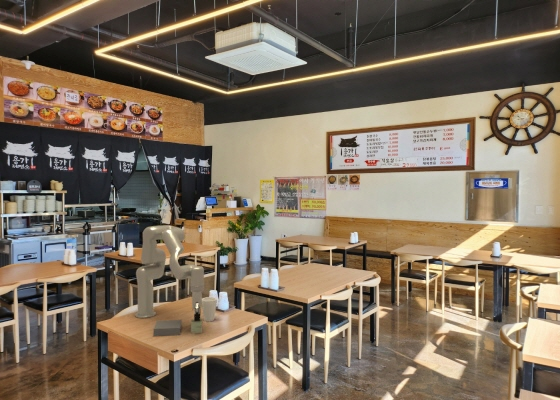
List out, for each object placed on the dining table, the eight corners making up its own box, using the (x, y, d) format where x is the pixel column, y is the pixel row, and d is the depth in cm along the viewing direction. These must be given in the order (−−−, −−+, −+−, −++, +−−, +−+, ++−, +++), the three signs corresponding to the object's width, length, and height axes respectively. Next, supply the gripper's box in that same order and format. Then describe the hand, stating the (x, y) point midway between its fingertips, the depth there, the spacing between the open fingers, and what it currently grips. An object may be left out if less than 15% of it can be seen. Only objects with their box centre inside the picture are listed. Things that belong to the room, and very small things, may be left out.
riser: (156, 327, 231) (156, 320, 231) (181, 326, 233) (181, 319, 233) (153, 336, 217) (153, 329, 217) (179, 334, 220) (179, 327, 220)
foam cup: (219, 319, 247) (220, 298, 247) (209, 323, 240) (209, 302, 239) (208, 316, 253) (209, 296, 252) (198, 320, 245) (198, 299, 245)
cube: (191, 329, 229) (191, 319, 228) (202, 329, 230) (202, 318, 230) (191, 333, 223) (191, 322, 223) (202, 332, 224) (202, 322, 224)
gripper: (191, 285, 233) (191, 314, 234) (189, 292, 216) (190, 323, 217) (204, 284, 235) (204, 313, 235) (203, 291, 218) (204, 322, 218)
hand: (197, 318), depth 226 cm, fingers open, 9 cm apart
